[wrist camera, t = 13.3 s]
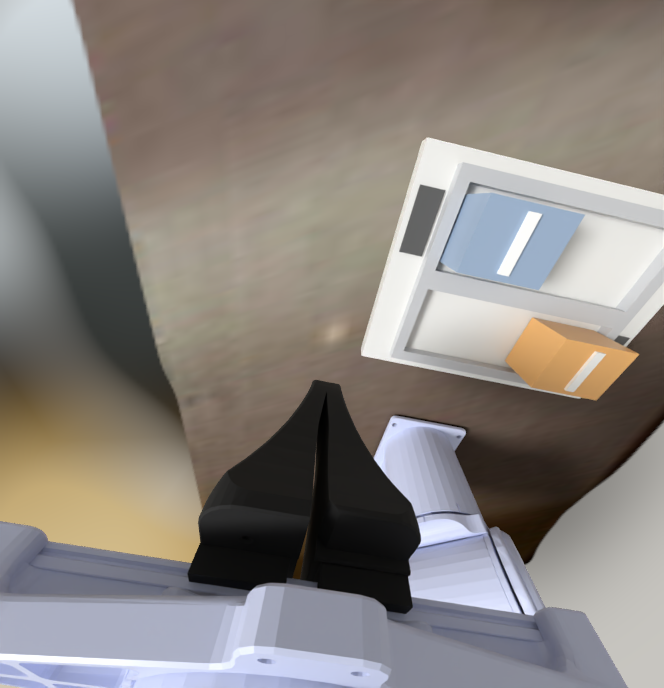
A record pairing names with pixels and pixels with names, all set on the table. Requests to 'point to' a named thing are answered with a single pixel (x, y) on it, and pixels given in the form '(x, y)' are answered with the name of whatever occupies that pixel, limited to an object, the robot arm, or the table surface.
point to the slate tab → (508, 239)
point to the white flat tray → (502, 298)
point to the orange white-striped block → (568, 359)
